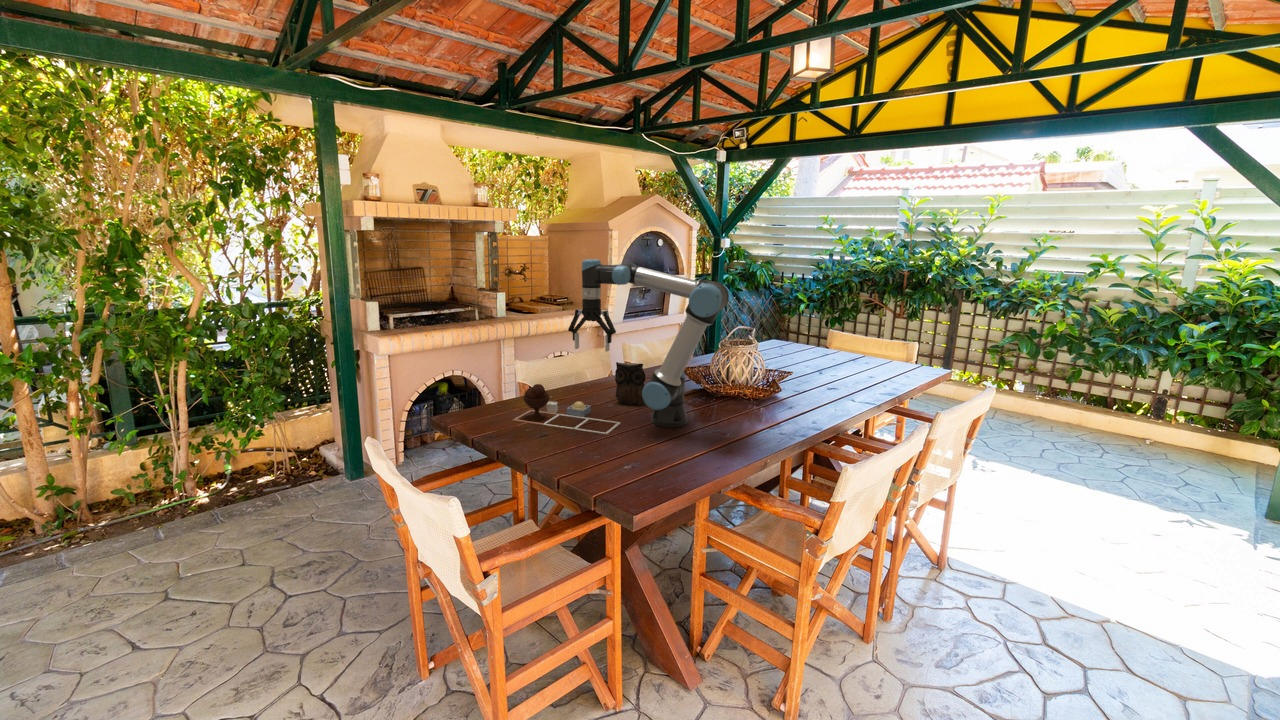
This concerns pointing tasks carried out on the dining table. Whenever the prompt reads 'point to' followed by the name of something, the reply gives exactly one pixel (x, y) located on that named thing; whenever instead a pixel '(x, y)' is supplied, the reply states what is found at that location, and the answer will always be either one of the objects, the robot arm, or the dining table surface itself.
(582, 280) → the robot arm
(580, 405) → the dome
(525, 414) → the track
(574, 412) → the base
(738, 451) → the dining table surface
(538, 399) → the ice cream bowl
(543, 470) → the dining table surface
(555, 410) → the die
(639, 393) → the owl
